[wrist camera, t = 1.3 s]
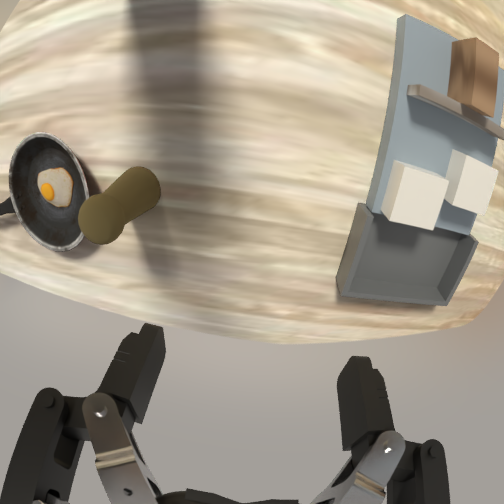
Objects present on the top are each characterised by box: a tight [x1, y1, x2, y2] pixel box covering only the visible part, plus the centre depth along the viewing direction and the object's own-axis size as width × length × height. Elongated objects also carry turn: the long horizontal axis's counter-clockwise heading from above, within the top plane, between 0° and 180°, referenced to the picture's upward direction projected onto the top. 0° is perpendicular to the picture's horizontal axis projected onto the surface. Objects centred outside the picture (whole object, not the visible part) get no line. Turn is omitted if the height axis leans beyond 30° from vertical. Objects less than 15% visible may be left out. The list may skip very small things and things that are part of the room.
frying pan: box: [0, 132, 90, 252], centre depth 33 cm, size 19×32×4 cm, turn 96°
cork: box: [78, 167, 161, 245], centre depth 28 cm, size 6×6×11 cm
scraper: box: [406, 38, 504, 140], centre depth 17 cm, size 9×14×5 cm, turn 83°
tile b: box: [381, 160, 449, 230], centre depth 26 cm, size 6×6×3 cm
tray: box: [336, 203, 479, 306], centre depth 32 cm, size 11×18×4 cm, turn 83°
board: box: [366, 14, 504, 235], centre depth 24 cm, size 24×16×2 cm, turn 173°
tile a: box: [444, 149, 498, 216], centre depth 24 cm, size 6×6×3 cm
